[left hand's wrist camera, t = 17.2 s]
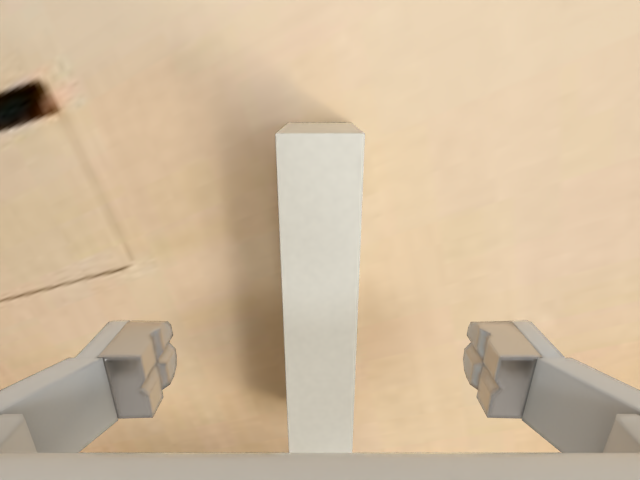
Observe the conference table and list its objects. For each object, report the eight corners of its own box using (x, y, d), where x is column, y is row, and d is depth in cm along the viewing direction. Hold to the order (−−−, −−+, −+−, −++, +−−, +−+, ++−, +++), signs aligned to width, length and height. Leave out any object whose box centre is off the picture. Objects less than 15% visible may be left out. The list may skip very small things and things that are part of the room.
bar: (287, 122, 29) (275, 133, 21) (352, 122, 29) (365, 133, 21) (296, 403, 39) (290, 484, 31) (344, 403, 39) (351, 484, 31)
